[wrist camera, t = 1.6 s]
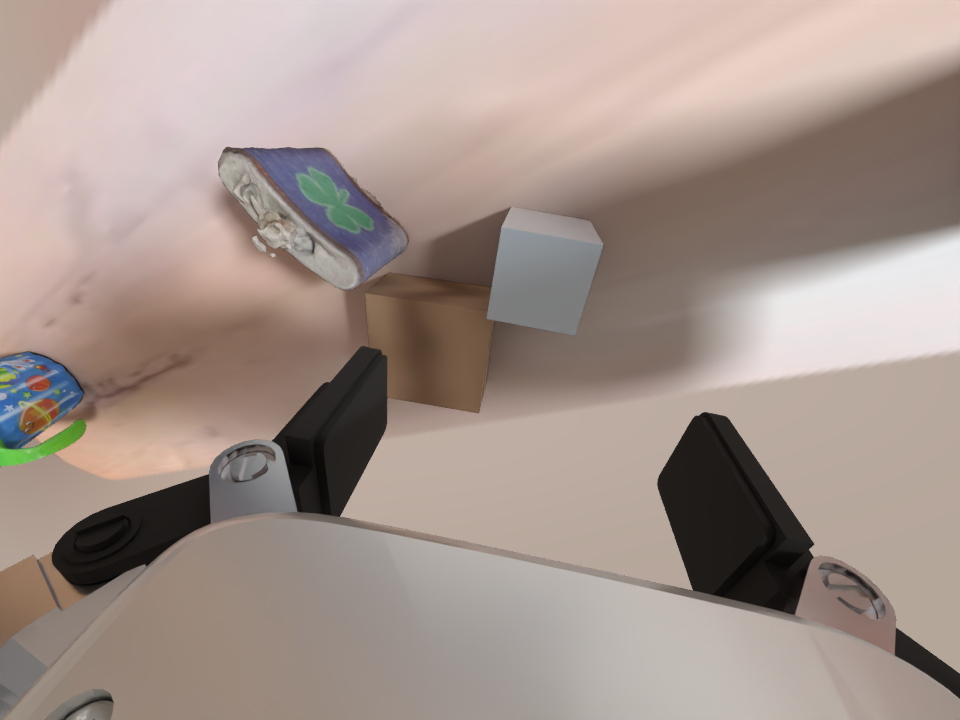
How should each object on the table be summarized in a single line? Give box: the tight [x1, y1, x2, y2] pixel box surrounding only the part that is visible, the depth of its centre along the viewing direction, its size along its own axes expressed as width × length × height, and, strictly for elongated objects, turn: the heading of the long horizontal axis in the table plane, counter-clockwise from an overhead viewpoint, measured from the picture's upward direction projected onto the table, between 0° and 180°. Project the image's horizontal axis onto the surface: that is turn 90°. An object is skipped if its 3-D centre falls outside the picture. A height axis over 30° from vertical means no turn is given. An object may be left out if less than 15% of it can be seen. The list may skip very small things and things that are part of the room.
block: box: [365, 273, 494, 413], centre depth 30 cm, size 9×9×5 cm
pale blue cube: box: [487, 207, 604, 336], centre depth 24 cm, size 6×6×7 cm
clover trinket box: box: [218, 147, 409, 291], centre depth 23 cm, size 9×3×11 cm, turn 44°
